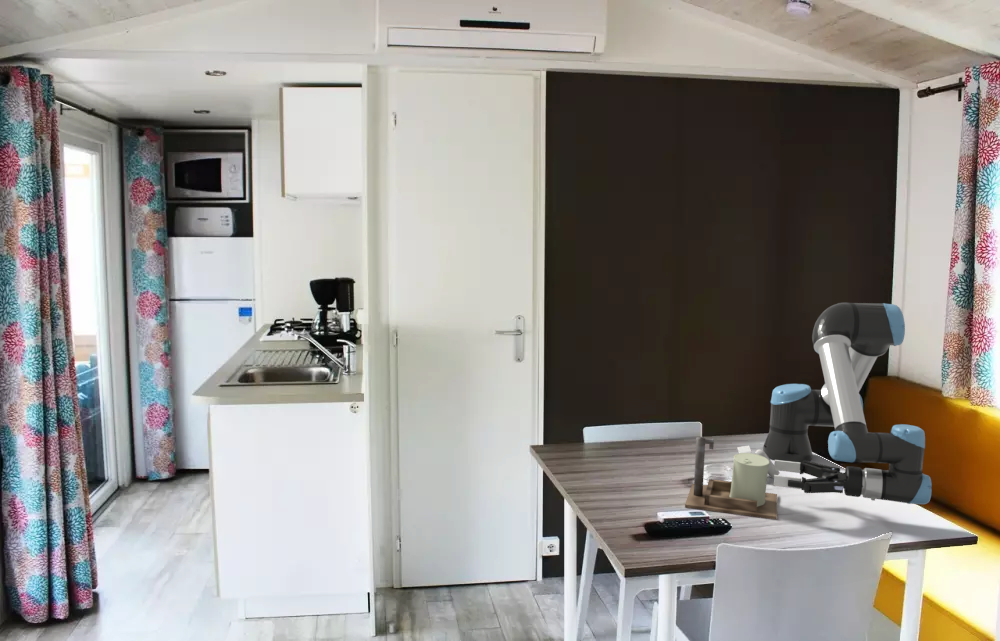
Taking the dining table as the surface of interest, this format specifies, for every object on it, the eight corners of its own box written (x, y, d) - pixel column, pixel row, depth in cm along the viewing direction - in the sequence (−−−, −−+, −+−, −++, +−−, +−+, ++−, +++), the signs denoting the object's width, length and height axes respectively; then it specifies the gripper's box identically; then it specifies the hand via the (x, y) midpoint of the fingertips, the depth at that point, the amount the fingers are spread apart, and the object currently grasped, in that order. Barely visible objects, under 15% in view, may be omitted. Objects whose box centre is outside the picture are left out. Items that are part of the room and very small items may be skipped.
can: (722, 498, 209) (727, 456, 206) (740, 489, 215) (744, 448, 212) (754, 510, 202) (758, 467, 200) (771, 500, 208) (776, 458, 206)
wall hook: (782, 480, 226) (775, 447, 226) (746, 486, 229) (739, 453, 228) (778, 472, 234) (771, 440, 233) (743, 477, 236) (736, 446, 236)
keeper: (776, 496, 214) (780, 437, 212) (776, 519, 198) (780, 455, 195) (692, 486, 222) (694, 429, 220) (684, 507, 205) (687, 445, 203)
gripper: (865, 513, 187) (772, 501, 194) (856, 481, 210) (773, 472, 217) (868, 483, 186) (774, 472, 193) (858, 454, 209) (775, 446, 216)
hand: (774, 472), depth 205 cm, fingers open, 13 cm apart
